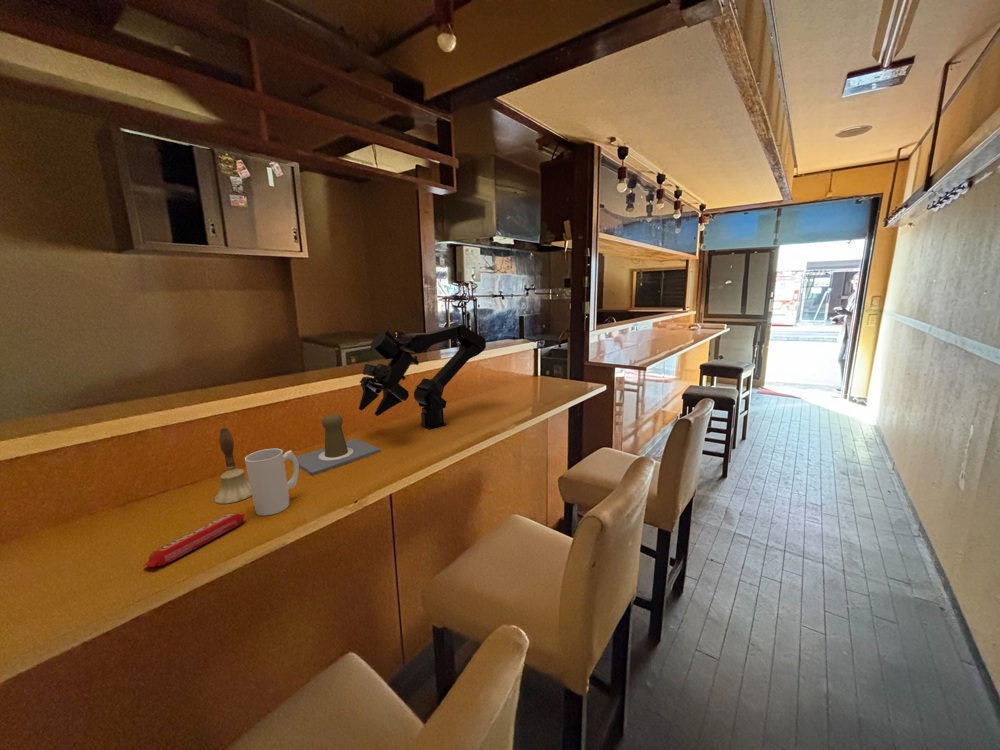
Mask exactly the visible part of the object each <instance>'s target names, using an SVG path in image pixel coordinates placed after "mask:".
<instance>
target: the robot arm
mask: <svg viewBox="0 0 1000 750" xmlns="http://www.w3.org/2000/svg"><path fill="white" fill-rule="evenodd" d="M453 339H456V340H457V342H458V343H459V346H458V350H457V352H455V354H454V355H452V356H451V358H450V359H449V360H448V361H447V362H446V363H445V365H443V367H441V369H440V370H438V372H437V373H436V374H435V375H434V376H433V377H432V378H430V379H429V378H425V377H424V378H423V379H422V380H421V381H420V383H419V384H417V385H415V389H414V390H413V399H414V400H415V402H417V404H418V406H419V407H420V408H421V407H422V408H421V413H420V417H421V422H420V425H421V426H423V427H425V428H426V429H428V430H431V429H434V428H439V427H443V426H446V425H447V422H445V418H444V409H446V407H447V402H448V401H446V399H444V398H443V397H442V396H443V393H444V389H445V387H446V386H447V385H448V384H449V383H450V381H451V380H452V379H453V378H454V377H455V376H456V375H457V373H458V372H459V371H460V370H461V369H462V368H463V367H464V366H465V364H467V362H468V361H469V360H470V359H473V358H475V357H477V356H479V355H480V354H481V353H483V352H484V351H485V349H486V348H487V344H486V342H487V341H486V338H485V337H484V336H482V335H480V334H478V333H477V332H475V331H473V330H471V329H469V327H468V326H466V325H464V324H453V325H451V326H447V327H443V328H440V329H436V330H432V331H428V332H421V333H418V332H417V333H415V332H414V333H406V334H404V335H402V338H399V339H397V338H395V337H394V336H393V334H391V332H389V331H388V330H383V331H382V333H380V334H379V335H377V336H376V337H375V338H373V339H372V341H371V343H370V349H372V350H373V351H374V352H375V353H376V354H378V355H379V356H380V357H382V358H383V359H384V360H390V361H389V362H388V363H387V365H386V364H384V363H378V364H377V365H375V364H374V365H372V364H368V363H365V364H364V366H363V370H362V373H361V374H362V376H363V377H362V378H361V379H360V381H359V383H360V386H361V388H362V395H361V400H360V402H359V406H358V410H359V411H363V410H364V409H366V408H367V407H368V406H369V405H370V404H372V402H374V400H376V399H377V398H378V397H379V396H380V395H379V394H380V393H381V392H382V399H381V401H380V402H379V404H378V405H377V408H376V409H375V410H376V411H374V415H375V416H376V417H379V416H380V415H382V414H383V413H385V412H386V411H388V410H390V409H392V408H393V407H395V406H397V405H398V404H400V403H403V401H404V402H406V401H407V400H408V399H409V396H410V393H409V391H408V390H407V389H406V388H404V386H402V385H401V384H400V382H401V380H402V381H405V379H406V376H405V374H406V372H407V371H408V369H409V368H410V366H411V365H414V366H419V365H420V363H419V361H418V356H416V355H412V354H411V353H415V354H422V353H423V352H425V351H427V350H429V349H430V348H432V346H433V345H436V344H441V343H443V342H446V341H450V340H453ZM402 349H403V350H402Z"/></svg>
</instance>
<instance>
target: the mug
mask: <svg viewBox="0 0 1000 750" xmlns="http://www.w3.org/2000/svg"><path fill="white" fill-rule="evenodd" d="M296 457H297V456H296V455H295V454H294V453H293V450H288V451H286V452H284V450H283V449H281V448H277V447H276V448H267V449H260V450H257V451H254V452H252V453H250V454H247V455H246V456H245V457H244V461H245V462H244V463H245V467H246V473H247V476H248V478H247V479H248V481H249V482H250V487H251V492H252V496H251V497H252V501H253V506H254V509H255V513H256V515H258V516H265V517H266V516H272V515H275V514H279V513H281V512H283V511H285V510H286V509H287V508H288V507H289V506H290V496H289V490H290V489H291V488H294V487H295V486H297V484H298V479H299V474H300V467H299V463H298V460H297V459H296ZM287 460H289V461H290V460H291V461H292V462H291V461H290V462H291V463H292V464H293V465H292V466H293V472H292V476H291V478H290V479H289V480H287V474H286V466H285V461H287Z"/></svg>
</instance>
